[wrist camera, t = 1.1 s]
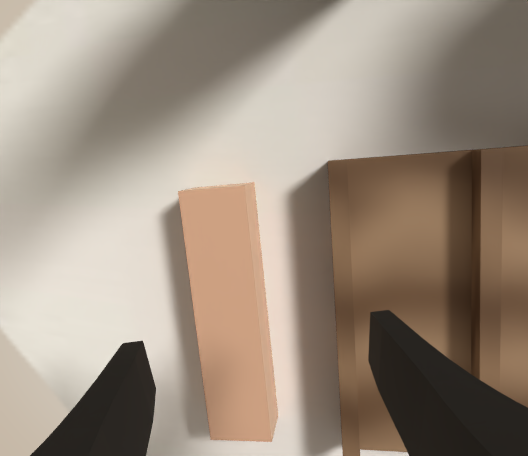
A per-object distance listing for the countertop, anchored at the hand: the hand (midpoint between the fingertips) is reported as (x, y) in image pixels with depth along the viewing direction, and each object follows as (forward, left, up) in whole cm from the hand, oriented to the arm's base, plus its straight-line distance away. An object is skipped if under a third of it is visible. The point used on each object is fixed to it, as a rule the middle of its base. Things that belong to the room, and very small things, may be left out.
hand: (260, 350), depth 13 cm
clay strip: (-3, +4, -14) cm, 15 cm away
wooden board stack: (-3, -10, -13) cm, 17 cm away
